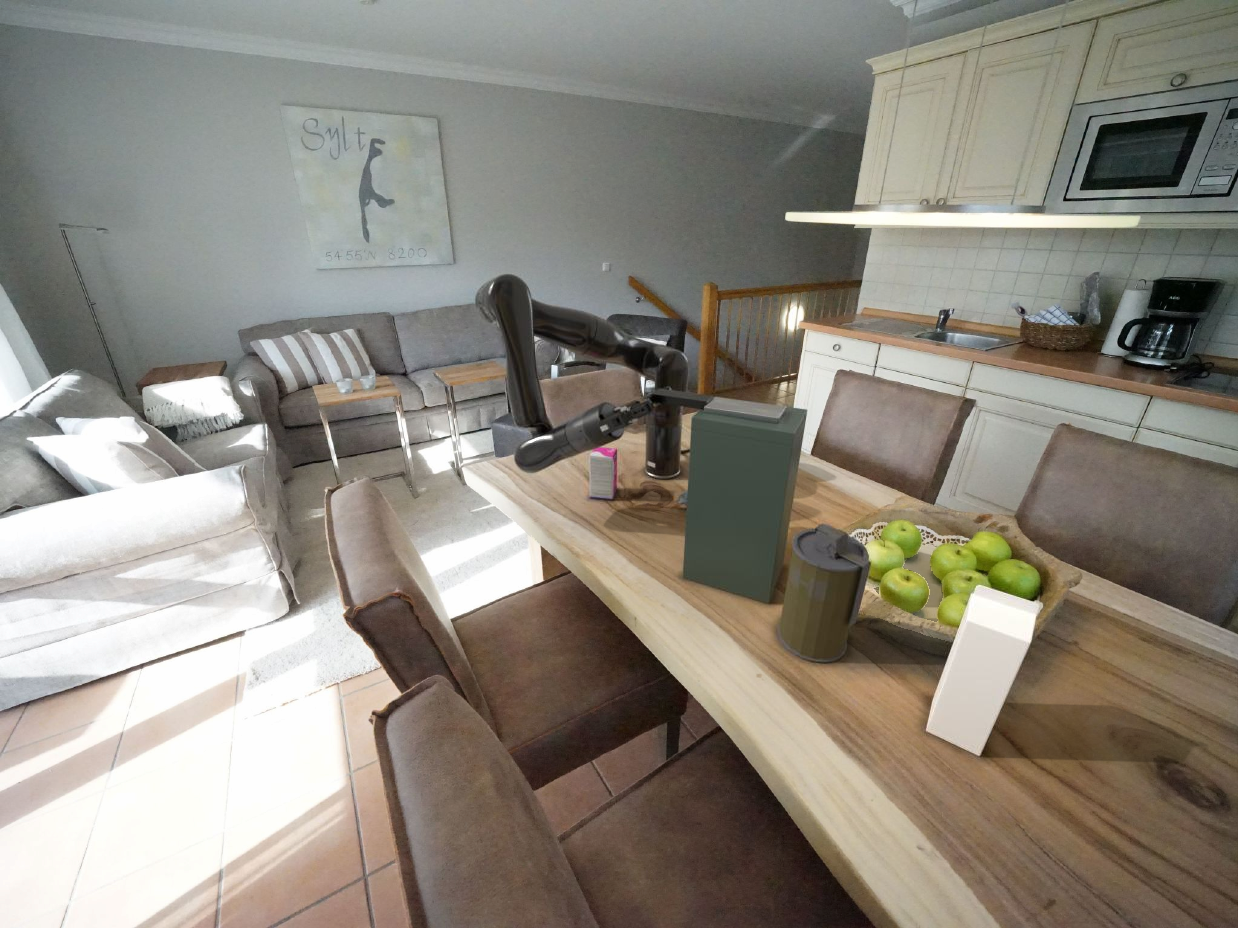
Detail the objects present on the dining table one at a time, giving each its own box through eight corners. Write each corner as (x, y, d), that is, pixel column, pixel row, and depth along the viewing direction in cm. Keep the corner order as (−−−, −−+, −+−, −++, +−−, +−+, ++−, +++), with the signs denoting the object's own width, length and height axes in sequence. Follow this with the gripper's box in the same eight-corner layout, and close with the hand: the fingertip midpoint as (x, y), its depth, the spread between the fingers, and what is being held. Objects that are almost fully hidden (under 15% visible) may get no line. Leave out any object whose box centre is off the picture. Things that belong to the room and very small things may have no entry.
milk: (932, 700, 70) (978, 570, 61) (984, 723, 67) (1041, 589, 58) (925, 732, 66) (973, 597, 57) (980, 758, 63) (1041, 619, 53)
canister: (764, 633, 82) (779, 528, 73) (802, 606, 88) (821, 506, 79) (824, 676, 74) (850, 564, 66) (862, 643, 80) (890, 536, 71)
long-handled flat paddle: (661, 394, 92) (661, 386, 92) (785, 412, 83) (786, 403, 82) (648, 404, 87) (648, 395, 87) (778, 424, 78) (779, 414, 78)
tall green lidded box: (703, 545, 105) (714, 396, 91) (782, 566, 98) (807, 409, 84) (682, 578, 95) (691, 417, 81) (768, 604, 88) (794, 433, 75)
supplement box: (613, 501, 122) (612, 457, 117) (589, 498, 123) (587, 455, 118) (617, 489, 127) (617, 447, 122) (594, 487, 128) (593, 446, 123)
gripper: (565, 422, 92) (635, 389, 83) (603, 400, 103) (668, 369, 94) (584, 459, 93) (655, 430, 84) (620, 433, 105) (686, 405, 95)
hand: (662, 398), depth 89 cm, fingers open, 8 cm apart
